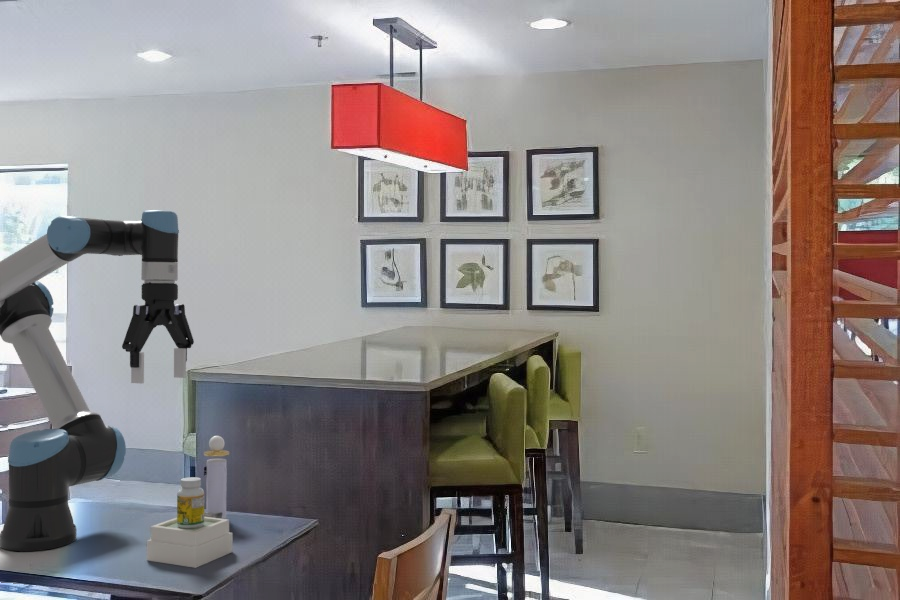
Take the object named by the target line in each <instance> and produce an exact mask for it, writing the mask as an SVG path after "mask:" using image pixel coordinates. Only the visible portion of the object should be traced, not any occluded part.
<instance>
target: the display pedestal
mask: <svg viewBox="0 0 900 600" xmlns="http://www.w3.org/2000/svg"><path fill="white" fill-rule="evenodd" d="M233 533H234V532H230V519H226V518H223V519H220V518H212V517H204V525H203V526H202V527H199V528H192V529H186V528H180V527H178V526H177V517H174V518H171V519H168V520H165V521H162V522H159V523H156V524H154V525H151V526H150V539H147V540H146V561H149V562H153V563H161V564H168V565H175V566H180V567H181V566H182V567H188V568H194V569H196V568H198V567H201V566H203V565H206V564H208V563H210V562H213V561H215V560H217V559H219V558H220V559H221V557H224V556H227V555H229V554H230V553H231V554H232V553H233V540H234V539H233Z"/></svg>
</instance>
